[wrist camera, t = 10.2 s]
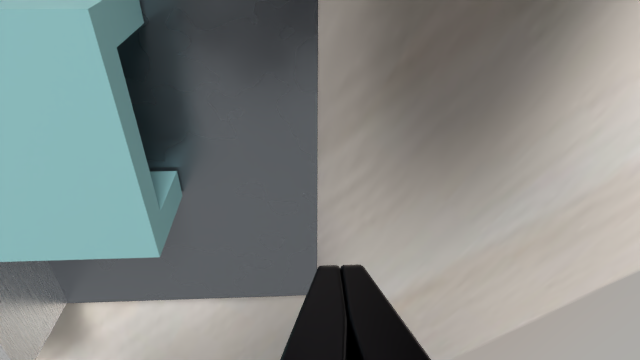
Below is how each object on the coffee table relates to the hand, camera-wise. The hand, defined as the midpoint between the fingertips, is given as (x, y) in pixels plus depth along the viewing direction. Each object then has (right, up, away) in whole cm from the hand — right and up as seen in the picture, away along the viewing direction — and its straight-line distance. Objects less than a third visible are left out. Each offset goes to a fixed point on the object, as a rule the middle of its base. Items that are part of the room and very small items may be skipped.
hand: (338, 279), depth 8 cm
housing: (-9, +5, +7) cm, 12 cm away
